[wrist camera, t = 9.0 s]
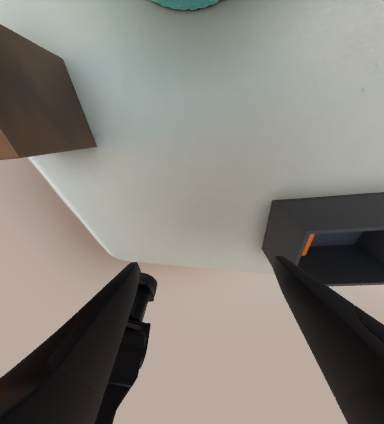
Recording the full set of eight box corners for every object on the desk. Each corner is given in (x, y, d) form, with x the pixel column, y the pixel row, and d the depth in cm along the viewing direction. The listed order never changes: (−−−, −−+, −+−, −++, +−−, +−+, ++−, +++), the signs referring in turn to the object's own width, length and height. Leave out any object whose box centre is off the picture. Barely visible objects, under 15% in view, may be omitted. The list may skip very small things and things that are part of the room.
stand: (97, 146, 18) (19, 157, 10) (53, 151, 18) (-55, 165, 10) (62, 58, 14) (-112, -40, 6) (7, 66, 14) (-225, -16, 6)
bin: (353, 244, 25) (409, 283, 18) (261, 249, 26) (284, 288, 19) (386, 192, 20) (479, 220, 13) (272, 200, 21) (307, 230, 14)
